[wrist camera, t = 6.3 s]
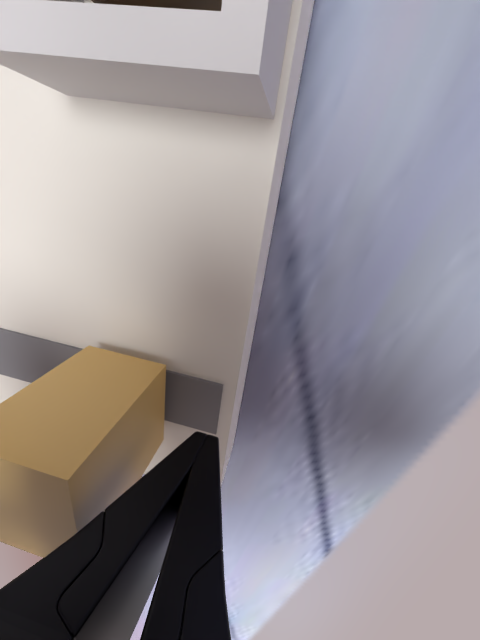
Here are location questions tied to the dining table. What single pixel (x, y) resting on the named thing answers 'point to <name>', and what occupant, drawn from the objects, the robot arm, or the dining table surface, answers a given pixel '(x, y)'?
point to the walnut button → (169, 3)
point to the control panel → (143, 190)
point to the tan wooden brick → (76, 444)
